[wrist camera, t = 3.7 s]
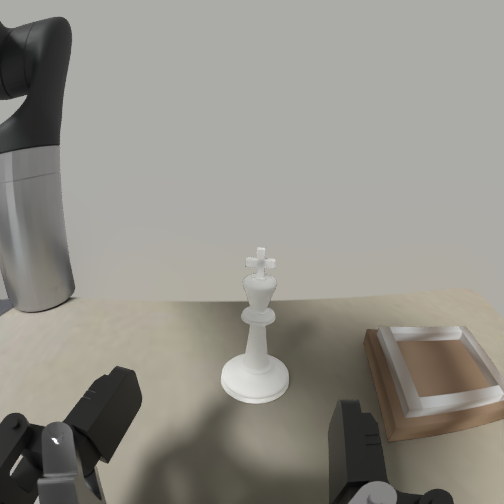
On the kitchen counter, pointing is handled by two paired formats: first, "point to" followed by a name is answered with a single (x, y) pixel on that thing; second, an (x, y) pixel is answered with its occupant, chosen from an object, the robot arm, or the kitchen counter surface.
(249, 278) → the chess piece
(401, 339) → the walnut board
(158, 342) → the kitchen counter surface
